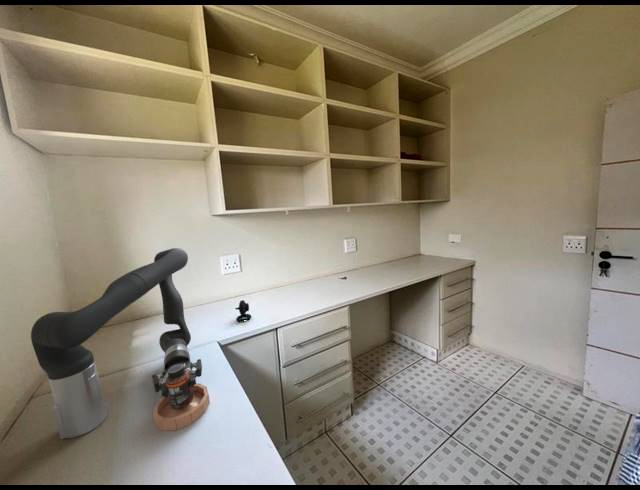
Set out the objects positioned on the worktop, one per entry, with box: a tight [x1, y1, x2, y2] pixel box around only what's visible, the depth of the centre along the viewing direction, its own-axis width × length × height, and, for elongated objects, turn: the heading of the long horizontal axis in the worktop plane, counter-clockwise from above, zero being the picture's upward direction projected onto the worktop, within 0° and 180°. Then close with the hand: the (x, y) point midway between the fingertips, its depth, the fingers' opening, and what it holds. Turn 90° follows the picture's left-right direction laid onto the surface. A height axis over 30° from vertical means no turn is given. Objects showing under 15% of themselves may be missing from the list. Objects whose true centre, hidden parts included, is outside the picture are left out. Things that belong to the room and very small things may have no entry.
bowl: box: [152, 382, 211, 432], centre depth 75 cm, size 14×14×3 cm
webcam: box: [235, 299, 252, 322], centre depth 133 cm, size 8×8×10 cm
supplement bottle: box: [166, 364, 193, 410], centre depth 74 cm, size 6×6×11 cm
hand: (179, 389), depth 72 cm, fingers closed on supplement bottle, 6 cm apart
